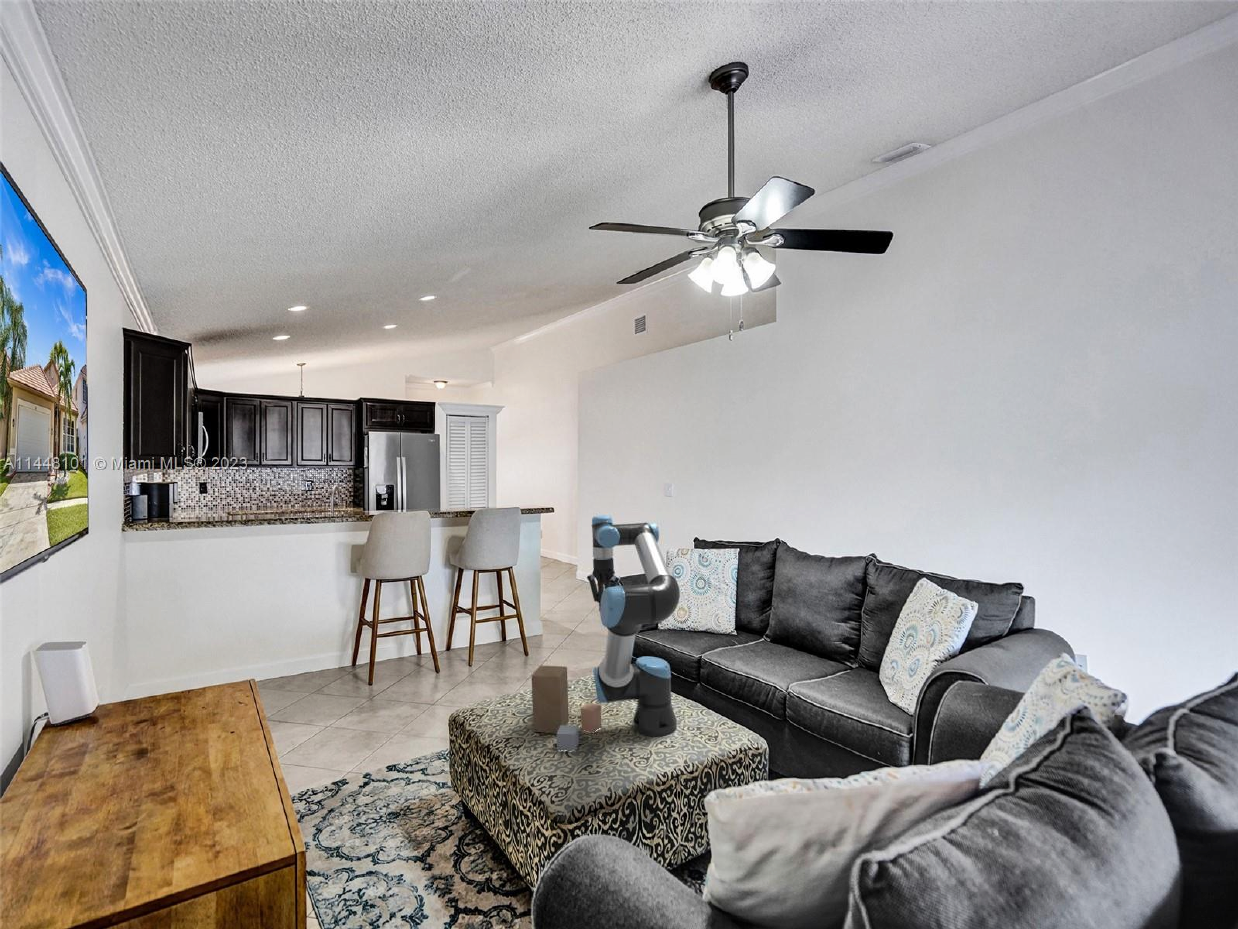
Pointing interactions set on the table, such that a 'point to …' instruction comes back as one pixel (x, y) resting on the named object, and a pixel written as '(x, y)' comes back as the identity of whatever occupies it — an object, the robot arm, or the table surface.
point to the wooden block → (550, 698)
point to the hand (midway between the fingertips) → (605, 620)
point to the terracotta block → (591, 717)
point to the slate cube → (567, 737)
